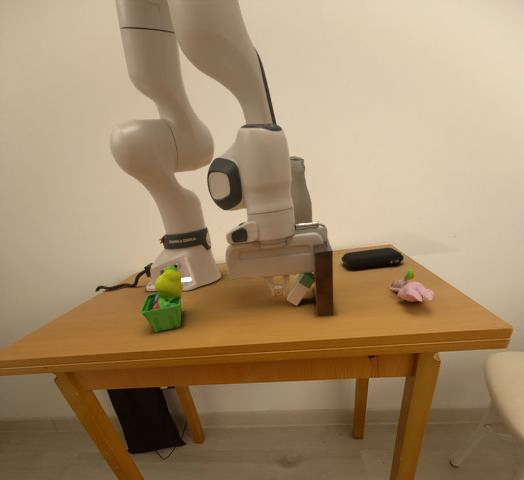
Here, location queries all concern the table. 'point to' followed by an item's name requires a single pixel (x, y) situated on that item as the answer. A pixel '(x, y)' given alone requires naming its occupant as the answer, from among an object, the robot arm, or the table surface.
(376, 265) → the carrying case
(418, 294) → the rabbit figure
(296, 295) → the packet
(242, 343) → the table surface
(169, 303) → the fruit basket
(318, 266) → the walnut board
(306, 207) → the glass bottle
